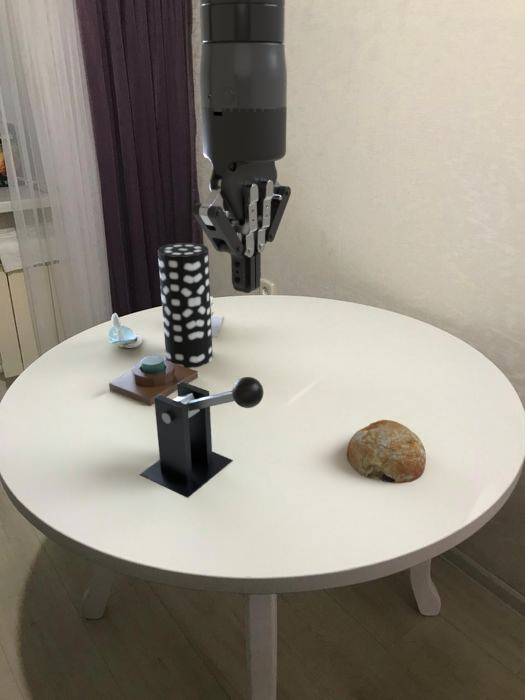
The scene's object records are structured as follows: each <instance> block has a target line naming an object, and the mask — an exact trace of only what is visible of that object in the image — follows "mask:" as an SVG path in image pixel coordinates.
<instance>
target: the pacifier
mask: <svg viewBox="0 0 525 700" xmlns="http://www.w3.org/2000/svg"><path fill="white" fill-rule="evenodd" d="M111 325H112V327H111V328H110V329H109V330H108V338H109V339H110V340H111V341H109V344H110V345H115V346H116V347H118V348H127V349H134V348H136V347H139V346H140V345H141V344H142V342H143V338H142V336H141V335H139V334H138V333H135V332H134V331H133V329H131V327H129V326H125V325H122V323H121V319H120V317H119V315H118V314H117V313H116V312H114V313H113V314H112V315H111ZM135 340H136V341H135ZM133 341H135V342H133ZM130 342H131V343H130ZM132 342H133V343H132Z"/></svg>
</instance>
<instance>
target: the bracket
mask: <svg viewBox="0 0 525 700" xmlns="http://www.w3.org/2000/svg"><path fill="white" fill-rule="evenodd" d="M176 392H177V397H178V396H182V395H186V394H190V393H192V394H193V396H194V398H195V399H199V398H203V397H207V396H211V395H210V391H209V390H208V389H204V388H201V387H199V386H196V385H194V384H191V383H185V382H180V383H179V384H177V391H176ZM173 399H174V398H170V397H168V396H167V397H165V396H162V395H158V396H157V397H155V398H154V402H155V404H154V411H155V422H156V432H157V433H156V434H157V442H158V443H157V444H158V455H159V456H158V457H159V460H157V461H156V462H154V463H153V464H151V465H150V466H149V467H147V468H146V469H145V470H143V471H142V472H141V473H139V476H141V477H143V478H145V479H147V480H149V481H151V482H153V483H156V484H157V485H160V486H162V487H164V488H166V489H168V490H170V491H172V492H174V493H176V494H178V495H180V496H182V497H184V498H187V499H189V498H190V497H191V496H192V495H193V494H195V493H196V492H197V491H198V490H200V489H201V488H202V487H203V486H204V485H206V484H207V483H208V482H209V481H210V480H212V479H213V478H214V477H215V476H217V475H218V474H219V473H220V472H221V471H223V470H224V469H226V467H227V466H229V465H230V464H231V463H232V462H233V461H234V460H233V459H231V458H229V457H227V456H224V455H221V454H220V453H217V452H214V451H213V443H212V419H211V417H212V416H211V407H206V408H202V409H200V411H199V412H197V413H196V414H195V415H193V416H192V417H190V418H188V405H186V404H183V403H181V402H178V401H175V400H173Z"/></svg>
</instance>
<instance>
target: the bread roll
mask: <svg viewBox="0 0 525 700" xmlns="http://www.w3.org/2000/svg"><path fill="white" fill-rule="evenodd" d="M345 457H346V460H347V461H348V462H349V463H350V465H351V467H352V468H353V469H354V471H355V472H357V473H358V474H359V475H361V476H363V477H365V478H367V479H371V478H378V479H379V480H382V482H385V483H394V484H405V483H413V482H414V481H417V480H418V479H420V478H421V477H422V476H423V474H424V472H425V470H426V463H427V458H426V457H427V456H426V448H425V445H424V443H423V442H422V440H421V438H420V437H419V436H418V435H417V434H416V433H415V432H413V431H412V430H411V429H410V428H409V427H407V426H406V425H405V424H402V423H400V422H397V421H395V420H391V419H380V420H377V421H374V422H371V423H369V425H366V426H365V427H362V428H360V429H358V430H357V431H356V432H355V433H354V434H353V435H352V437H351V438H350V440H349V442H348V443H347V448H346V456H345Z"/></svg>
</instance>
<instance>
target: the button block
mask: <svg viewBox="0 0 525 700" xmlns="http://www.w3.org/2000/svg"><path fill="white" fill-rule="evenodd" d="M164 365H165V369H164V371H162V372H160V373H155V374H146V373H143V372H142V366H141V361H139V362H137V363H134V365H133V367H132V368H131V371H129V372H127V373H126V374H124V375H122V376H120V377H118V378H116V379H114V380H112V381H110V382H109V383H108V388H109V392H115V393H117V394H120V395H122V396H124V397H127V398H130V399H132V400H135V401H137V402H140V403H141V404H145V405H147V406H150V407H152V406H153V405H154V406H155V402H154V398H155V397H157V396H158V395H162V396H165V397H167V398H168V396H170V395H172V394H174V393H175V392H177V384H179V383H180V382H185V383H188V384H191V383H192V382H193V381H195V380H197V379H198V378H199V374H198V373H199V372H198V371H197V370H195V369H193V368H186V367H183V366H180V365H177V364H174V363H172V362H171V361H168V360H166V358H164Z"/></svg>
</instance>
